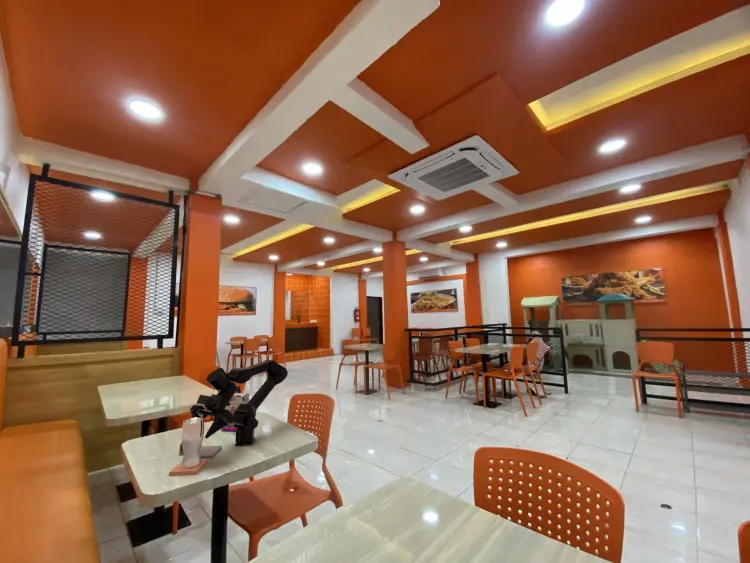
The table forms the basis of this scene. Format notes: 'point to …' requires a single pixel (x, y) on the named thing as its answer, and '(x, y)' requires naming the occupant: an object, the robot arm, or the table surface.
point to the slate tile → (209, 451)
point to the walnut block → (181, 449)
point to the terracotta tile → (188, 469)
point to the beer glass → (192, 441)
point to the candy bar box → (234, 403)
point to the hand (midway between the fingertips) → (196, 436)
